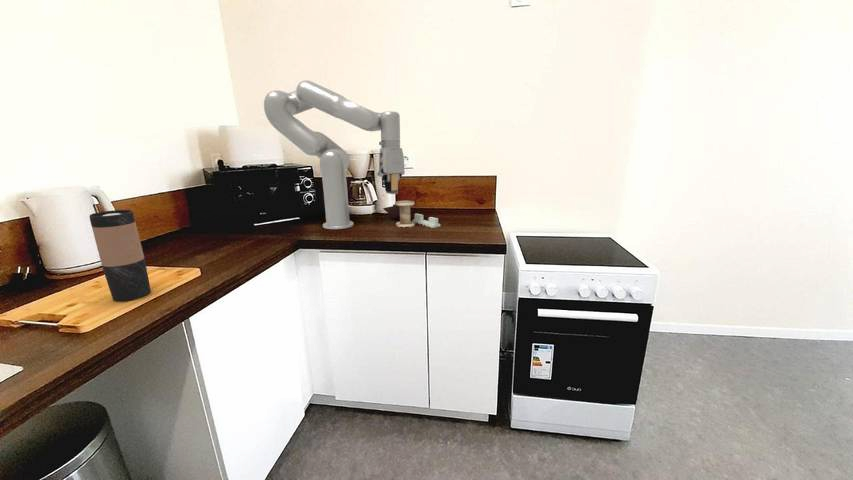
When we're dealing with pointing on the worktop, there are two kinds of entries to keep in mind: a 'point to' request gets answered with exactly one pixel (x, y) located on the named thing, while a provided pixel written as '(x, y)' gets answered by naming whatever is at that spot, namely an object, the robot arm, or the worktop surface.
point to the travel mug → (121, 254)
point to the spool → (405, 214)
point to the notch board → (431, 223)
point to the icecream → (393, 211)
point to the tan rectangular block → (393, 184)
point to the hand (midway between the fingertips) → (391, 190)
